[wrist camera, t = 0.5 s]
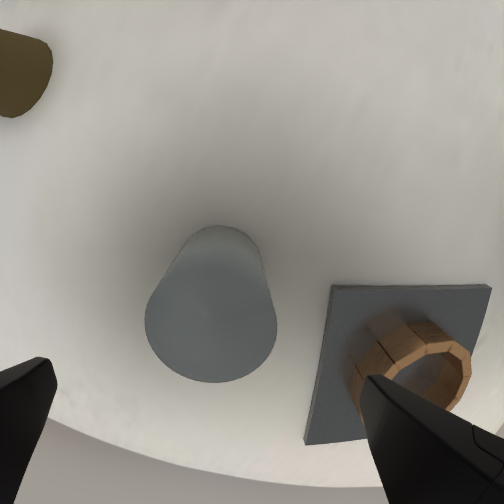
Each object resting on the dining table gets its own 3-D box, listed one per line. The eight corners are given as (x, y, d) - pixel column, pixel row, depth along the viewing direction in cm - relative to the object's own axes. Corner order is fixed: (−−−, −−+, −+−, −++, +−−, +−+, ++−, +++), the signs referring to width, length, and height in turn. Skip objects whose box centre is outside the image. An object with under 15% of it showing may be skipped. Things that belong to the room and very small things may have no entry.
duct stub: (263, 227, 19) (282, 268, 11) (259, 306, 20) (271, 384, 12) (178, 224, 19) (140, 263, 11) (179, 303, 20) (150, 378, 12)
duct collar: (486, 284, 21) (515, 301, 17) (439, 417, 24) (456, 441, 21) (331, 285, 20) (350, 310, 16) (303, 438, 24) (311, 471, 20)
